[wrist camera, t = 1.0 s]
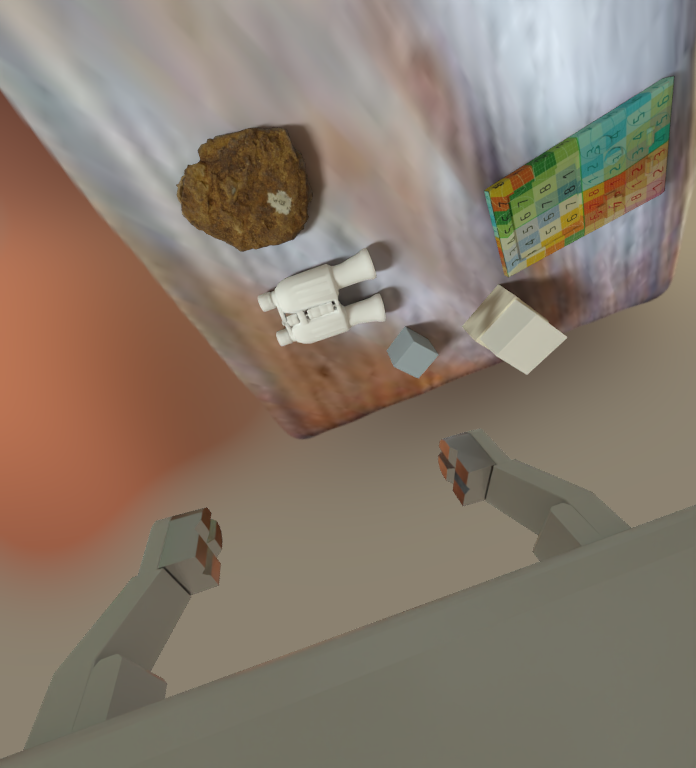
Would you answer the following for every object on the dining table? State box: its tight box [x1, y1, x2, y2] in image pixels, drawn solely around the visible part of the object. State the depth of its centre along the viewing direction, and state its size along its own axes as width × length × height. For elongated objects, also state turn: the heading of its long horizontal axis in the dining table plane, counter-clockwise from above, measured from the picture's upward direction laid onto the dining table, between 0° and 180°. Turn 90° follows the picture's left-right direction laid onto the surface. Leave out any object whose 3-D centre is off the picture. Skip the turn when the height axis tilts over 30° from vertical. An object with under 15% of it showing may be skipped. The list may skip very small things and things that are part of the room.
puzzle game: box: [484, 76, 674, 277], centre depth 38 cm, size 12×5×20 cm
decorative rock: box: [176, 127, 313, 252], centre depth 35 cm, size 11×4×15 cm
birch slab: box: [462, 284, 549, 350], centre depth 49 cm, size 8×8×5 cm
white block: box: [480, 299, 567, 375], centre depth 44 cm, size 7×7×5 cm
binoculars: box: [258, 248, 386, 346], centre depth 43 cm, size 10×16×5 cm, turn 107°
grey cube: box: [387, 327, 439, 378], centre depth 50 cm, size 5×5×5 cm
